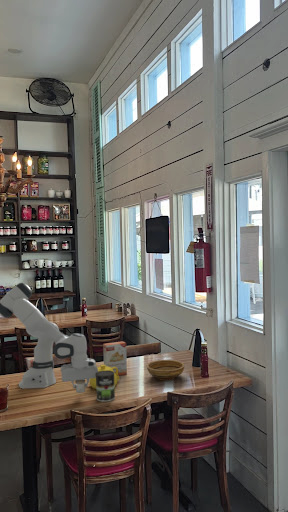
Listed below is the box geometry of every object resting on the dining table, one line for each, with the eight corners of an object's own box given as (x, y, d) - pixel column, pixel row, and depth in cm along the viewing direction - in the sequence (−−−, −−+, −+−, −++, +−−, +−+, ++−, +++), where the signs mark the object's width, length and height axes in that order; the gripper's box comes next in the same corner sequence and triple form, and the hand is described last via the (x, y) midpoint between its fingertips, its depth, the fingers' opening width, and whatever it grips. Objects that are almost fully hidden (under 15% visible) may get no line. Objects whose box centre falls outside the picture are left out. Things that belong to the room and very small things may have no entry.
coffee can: (116, 400, 236) (115, 375, 236) (97, 402, 235) (96, 376, 234) (114, 394, 246) (113, 369, 246) (95, 395, 245) (95, 371, 244)
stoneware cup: (76, 393, 238) (76, 382, 238) (75, 390, 243) (74, 379, 243) (86, 392, 240) (85, 381, 239) (84, 388, 245) (84, 378, 245)
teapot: (85, 385, 264) (84, 364, 264) (113, 379, 274) (112, 359, 273) (99, 394, 247) (98, 372, 246) (128, 388, 256) (127, 366, 256)
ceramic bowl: (194, 381, 264) (194, 368, 264) (158, 387, 255) (157, 374, 255) (172, 368, 292) (172, 356, 291) (139, 374, 282) (138, 361, 282)
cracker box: (107, 378, 276) (105, 345, 275) (103, 375, 281) (102, 343, 280) (127, 374, 282) (126, 342, 281) (123, 372, 287) (122, 340, 286)
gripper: (61, 366, 235) (62, 391, 236) (98, 362, 240) (99, 386, 241) (59, 363, 241) (61, 387, 242) (96, 359, 247) (97, 383, 247)
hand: (80, 387), depth 241 cm, fingers closed on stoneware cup, 5 cm apart
